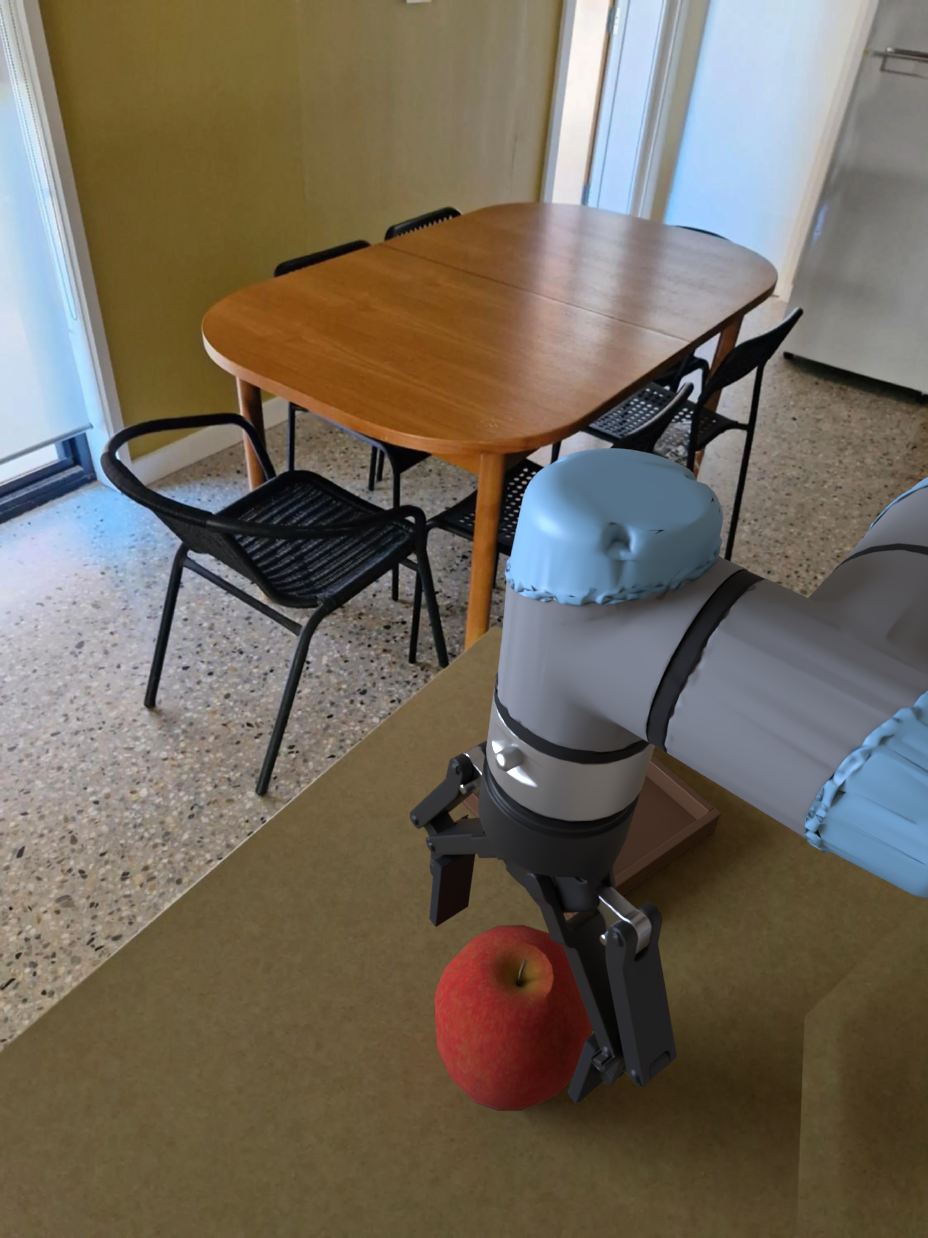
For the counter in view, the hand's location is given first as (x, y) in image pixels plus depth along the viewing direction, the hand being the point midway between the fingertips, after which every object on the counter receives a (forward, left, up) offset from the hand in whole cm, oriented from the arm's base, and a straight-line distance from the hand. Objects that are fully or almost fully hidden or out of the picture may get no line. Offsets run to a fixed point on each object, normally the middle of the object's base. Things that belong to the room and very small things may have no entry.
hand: (513, 993), depth 55 cm
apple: (0, 0, -10) cm, 10 cm away
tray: (+13, -20, -10) cm, 26 cm away
